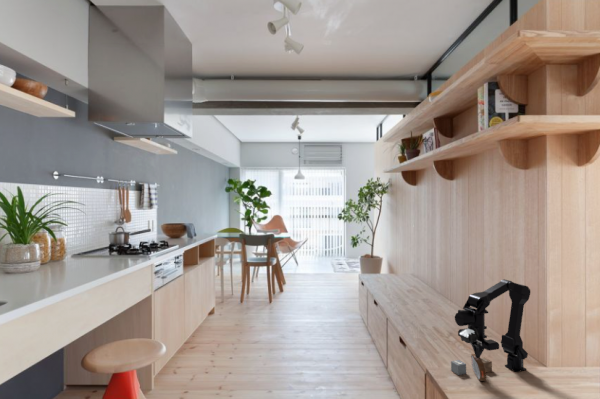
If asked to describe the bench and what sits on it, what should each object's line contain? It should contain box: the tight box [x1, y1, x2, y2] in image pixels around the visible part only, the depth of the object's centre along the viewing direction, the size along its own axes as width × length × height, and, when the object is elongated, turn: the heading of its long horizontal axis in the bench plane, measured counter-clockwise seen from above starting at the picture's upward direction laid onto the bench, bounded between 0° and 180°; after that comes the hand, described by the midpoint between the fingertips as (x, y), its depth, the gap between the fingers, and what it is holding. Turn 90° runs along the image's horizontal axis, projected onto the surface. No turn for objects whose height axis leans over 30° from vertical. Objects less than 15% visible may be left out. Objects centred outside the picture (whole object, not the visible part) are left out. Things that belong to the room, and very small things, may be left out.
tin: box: [470, 353, 487, 382], centre depth 163 cm, size 15×3×8 cm, turn 168°
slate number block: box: [450, 359, 467, 376], centre depth 167 cm, size 4×4×5 cm
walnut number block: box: [480, 357, 493, 373], centre depth 169 cm, size 4×4×5 cm
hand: (477, 357), depth 163 cm, fingers closed, pressing on tin
